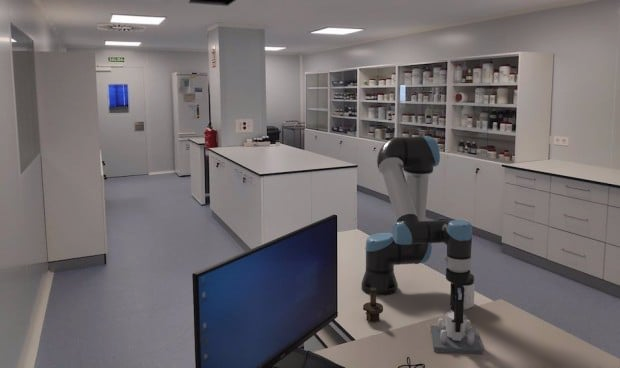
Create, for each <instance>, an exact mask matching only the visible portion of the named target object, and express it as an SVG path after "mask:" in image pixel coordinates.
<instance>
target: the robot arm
mask: <svg viewBox="0 0 620 368" xmlns="http://www.w3.org/2000/svg"><path fill="white" fill-rule="evenodd" d="M440 153H441V152H440V148H439V145H438V142H437V140H436V139H435V138H434V137H431V136H423V135H422V136H421V135H420V136H405V137H404V136H402V137H401V136H398V137H397V136H396V137H393V138H390V139H388V140H387V141H386V142H384V143H383V145H381V148H380V149H379V151H378V154H377V159H376V165H377V169H378V173H380V174H381V175H382V176H383V179H384V183H385V186H386V191H387V194H388V197H389V202H390V204H391V207H392V211H393V214H394V217H395V222H394V223H393V225H392V232H379V233H373V234H371V235H370V236H368V237H367V238H366V241H365V272H364V274H363V277H362V281H361V290H362V291H363V292H364V291H365V292H364V293H365V294H368V293H369V295H370V290H371V288H376V296H389V295H390V296H391V295H393V294H396V293H397V292H398V288H399V285H398V281H397V278H396V275H395V272H394V271H395V268H394V267H395V266H397V265H398V266H399V265H418V264H425V263H426V262H428V261H429V259H430V258H431V255H432V249H433V246H432V244H440V243H442V244H445V245H446V258H444V262H446V269H445V279H446V281H448V282H450V291H451V297H449V306H450V311H454V320H452V322H453V336H452V340H456V341H461V335H462V323H463V313H464V310H465V309H464V296H465V295H464V287H463V284H464V283H468V282H469V281H470V274H471V270H470V269H471V266H472V264H471V263H472V247H473V246H472V242H473V226H472V223H470V222H469V221H466V220H462V219H461V220H459V219H454V220H451V219H450V218H447V217H443V216H442V217H438V218H436V219H434V220H426V214H427V213H426V211H427V198H428V187H429V176H430V175H431V174H433V172H434V167H437V166H439V164H440V159H441V155H440ZM405 174H406V175H405Z"/></svg>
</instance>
